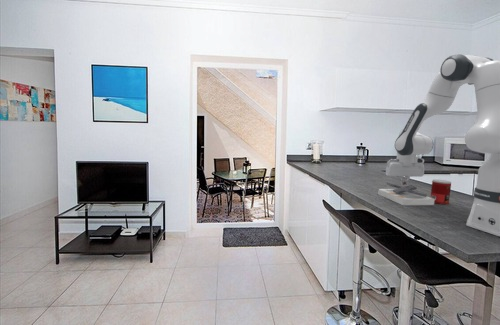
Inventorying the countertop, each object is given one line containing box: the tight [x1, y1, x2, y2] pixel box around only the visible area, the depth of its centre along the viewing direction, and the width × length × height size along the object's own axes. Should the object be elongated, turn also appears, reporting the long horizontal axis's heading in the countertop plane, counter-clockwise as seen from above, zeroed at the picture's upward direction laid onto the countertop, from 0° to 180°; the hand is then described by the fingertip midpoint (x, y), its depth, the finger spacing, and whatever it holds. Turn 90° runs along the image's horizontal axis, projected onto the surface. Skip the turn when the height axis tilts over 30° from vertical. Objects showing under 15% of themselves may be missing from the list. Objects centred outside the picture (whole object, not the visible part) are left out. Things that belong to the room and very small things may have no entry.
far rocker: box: [386, 182, 403, 189], centre depth 156 cm, size 4×10×1 cm, turn 96°
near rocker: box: [403, 188, 428, 197], centre depth 142 cm, size 4×10×1 cm, turn 96°
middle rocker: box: [393, 184, 417, 194], centre depth 149 cm, size 4×10×1 cm, turn 96°
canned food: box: [430, 179, 452, 205], centre depth 145 cm, size 8×8×11 cm
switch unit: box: [377, 188, 435, 206], centre depth 150 cm, size 22×16×3 cm
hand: (403, 184), depth 156 cm, fingers closed
